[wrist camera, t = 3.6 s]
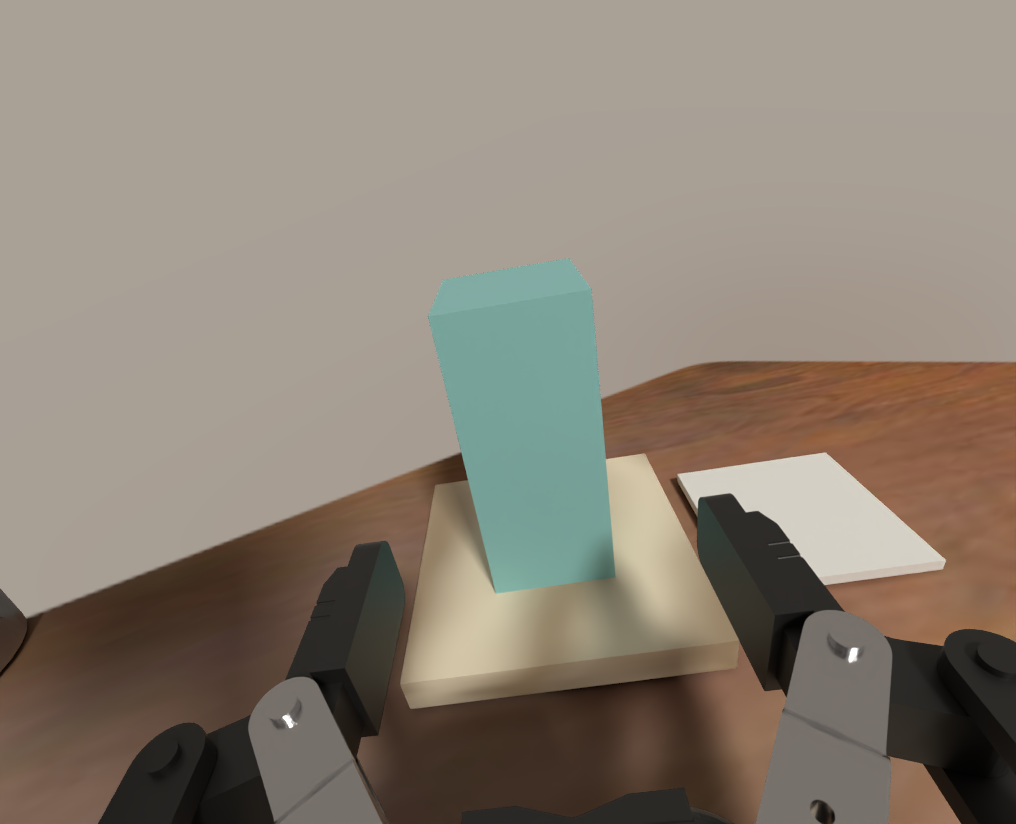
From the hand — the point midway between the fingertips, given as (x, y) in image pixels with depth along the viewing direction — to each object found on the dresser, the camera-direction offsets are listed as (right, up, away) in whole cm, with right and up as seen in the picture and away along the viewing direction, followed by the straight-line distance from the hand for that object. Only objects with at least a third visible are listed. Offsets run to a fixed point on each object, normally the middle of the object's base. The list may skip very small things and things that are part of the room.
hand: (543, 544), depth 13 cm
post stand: (+1, -4, +11) cm, 11 cm away
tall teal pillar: (+1, -3, +10) cm, 10 cm away
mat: (+13, -2, +11) cm, 17 cm away
